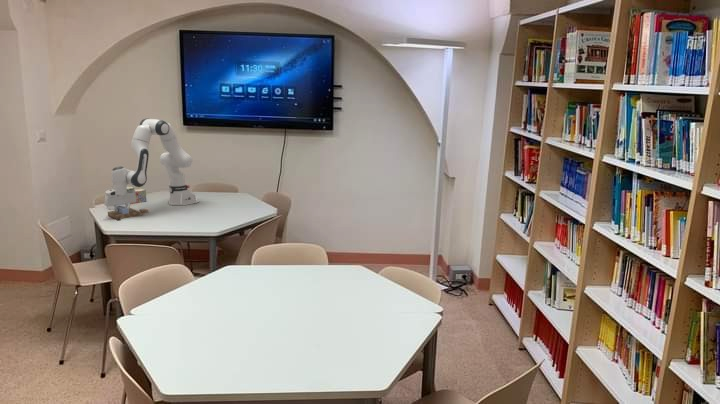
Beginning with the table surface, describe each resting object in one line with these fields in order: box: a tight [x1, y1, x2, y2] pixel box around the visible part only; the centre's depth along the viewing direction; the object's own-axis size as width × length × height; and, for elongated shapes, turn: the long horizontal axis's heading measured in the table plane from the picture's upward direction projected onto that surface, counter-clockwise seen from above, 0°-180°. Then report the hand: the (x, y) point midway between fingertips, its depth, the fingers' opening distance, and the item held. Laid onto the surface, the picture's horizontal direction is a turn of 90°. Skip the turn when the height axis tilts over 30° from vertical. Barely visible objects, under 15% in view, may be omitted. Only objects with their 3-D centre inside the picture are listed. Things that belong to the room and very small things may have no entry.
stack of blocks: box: [127, 186, 147, 205], centre depth 386 cm, size 21×6×12 cm, turn 141°
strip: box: [113, 205, 130, 215], centre depth 346 cm, size 4×14×5 cm, turn 47°
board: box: [107, 207, 142, 221], centre depth 348 cm, size 16×16×3 cm
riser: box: [139, 208, 149, 214], centre depth 358 cm, size 4×5×2 cm
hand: (121, 210), depth 346 cm, fingers closed on strip, 4 cm apart
